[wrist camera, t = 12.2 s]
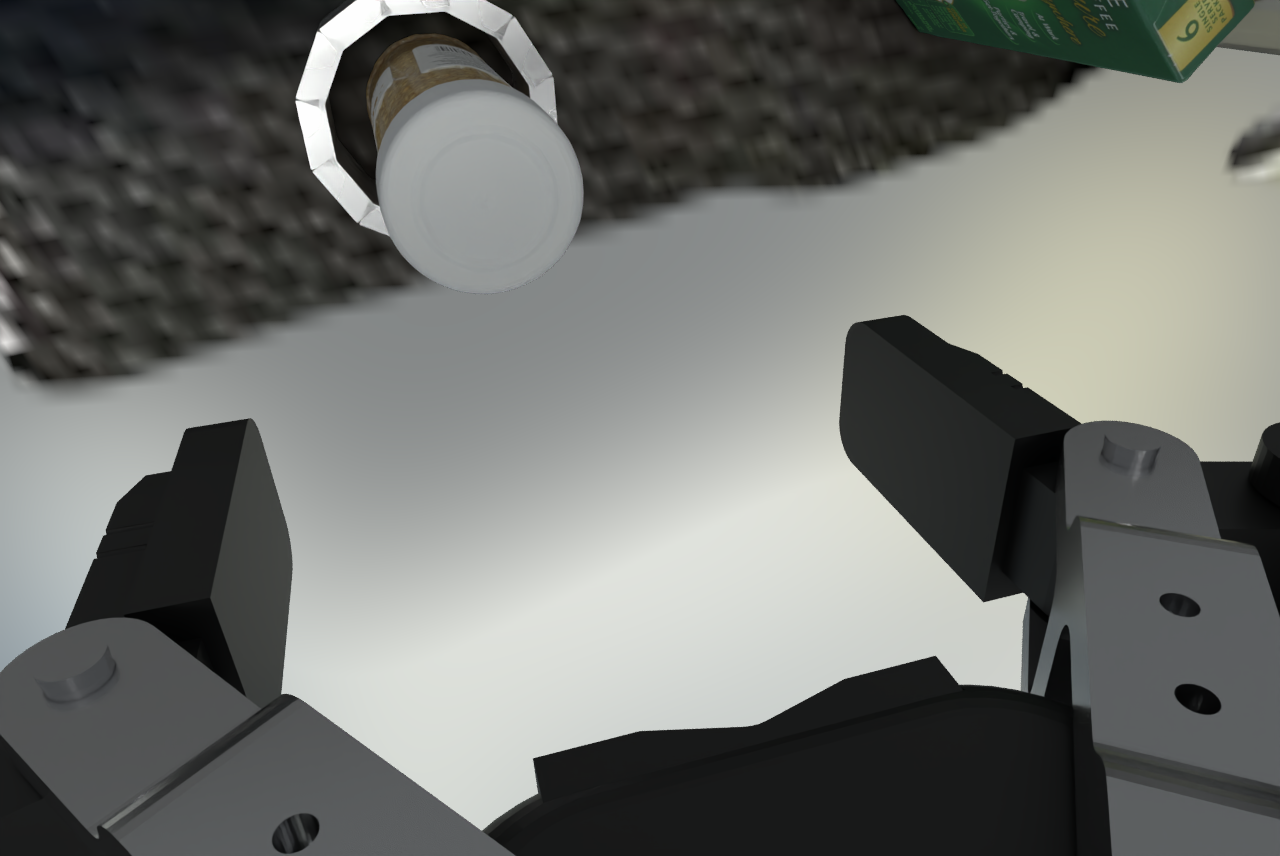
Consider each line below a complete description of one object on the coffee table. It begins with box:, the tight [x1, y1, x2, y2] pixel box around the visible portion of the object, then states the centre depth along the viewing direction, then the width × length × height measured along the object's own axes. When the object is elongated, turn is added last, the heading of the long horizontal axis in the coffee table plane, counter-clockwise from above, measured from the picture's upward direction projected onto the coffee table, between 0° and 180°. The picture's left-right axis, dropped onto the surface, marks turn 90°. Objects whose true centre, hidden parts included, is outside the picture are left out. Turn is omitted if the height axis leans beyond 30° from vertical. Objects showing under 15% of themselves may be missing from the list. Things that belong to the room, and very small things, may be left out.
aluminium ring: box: [295, 0, 558, 236], centre depth 29 cm, size 8×8×4 cm
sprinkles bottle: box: [366, 33, 584, 294], centre depth 25 cm, size 5×5×13 cm
